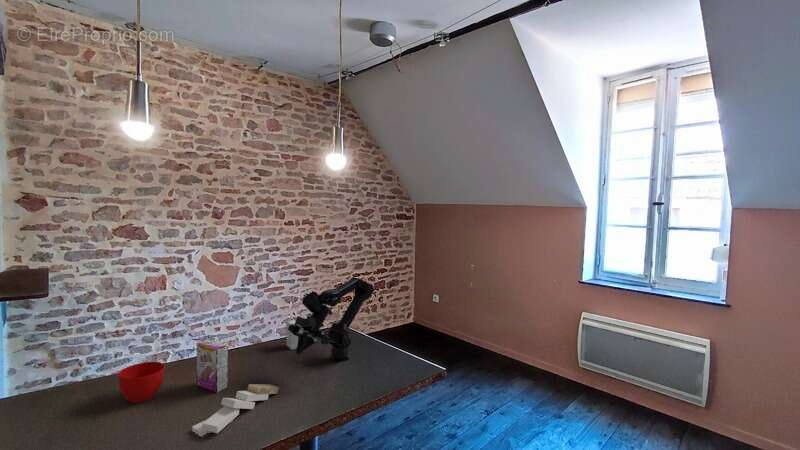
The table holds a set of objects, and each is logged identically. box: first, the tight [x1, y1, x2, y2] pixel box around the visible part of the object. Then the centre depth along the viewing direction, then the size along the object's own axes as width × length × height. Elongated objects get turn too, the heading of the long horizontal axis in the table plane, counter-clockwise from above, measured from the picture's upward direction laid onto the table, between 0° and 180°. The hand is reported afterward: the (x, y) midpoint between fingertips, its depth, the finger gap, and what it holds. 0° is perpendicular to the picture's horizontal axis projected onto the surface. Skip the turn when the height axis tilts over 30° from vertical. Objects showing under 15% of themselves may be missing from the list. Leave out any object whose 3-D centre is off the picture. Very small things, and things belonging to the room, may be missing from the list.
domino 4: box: [234, 390, 270, 402], centre depth 125 cm, size 2×5×10 cm
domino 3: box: [220, 397, 256, 410], centre depth 119 cm, size 2×5×10 cm
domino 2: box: [191, 419, 234, 438], centre depth 113 cm, size 2×5×10 cm
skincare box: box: [285, 319, 300, 350], centre depth 175 cm, size 6×4×12 cm
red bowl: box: [118, 361, 166, 404], centre depth 128 cm, size 13×17×10 cm
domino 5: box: [246, 383, 280, 395], centre depth 129 cm, size 2×5×10 cm
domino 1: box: [203, 405, 240, 434], centre depth 112 cm, size 2×5×10 cm
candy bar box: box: [196, 338, 229, 394], centre depth 135 cm, size 11×5×16 cm, turn 65°
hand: (296, 353), depth 142 cm, fingers closed
